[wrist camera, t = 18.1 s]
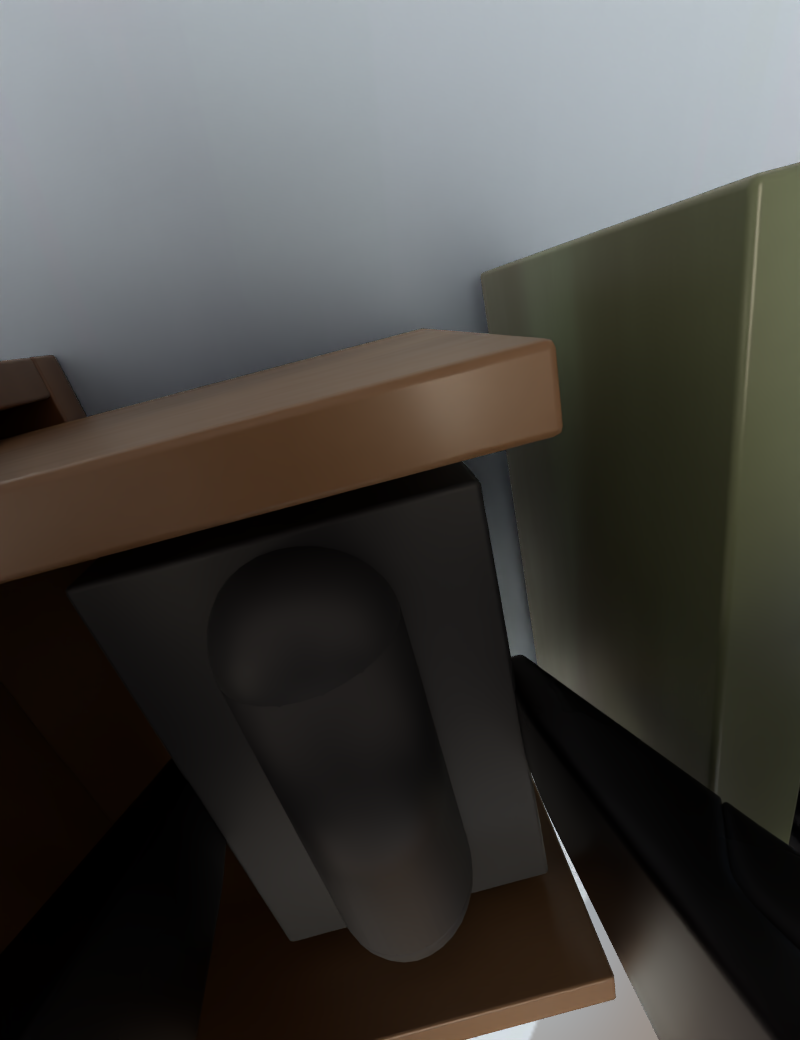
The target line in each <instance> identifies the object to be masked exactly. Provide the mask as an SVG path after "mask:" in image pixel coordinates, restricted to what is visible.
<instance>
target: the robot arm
mask: <svg viewBox="0 0 800 1040" xmlns="http://www.w3.org/2000/svg"><path fill="white" fill-rule="evenodd" d="M511 660H512V666H513V672H514V677H515V683H516V690H515V698H516V703H517V709H518V715H519V720H520V726H521V731H522V737H523V742H524V748H525V754H526V759H527V762H528V765H529V767H530V770H531V773H532V776H533V778H534V781H535V784H536V786H537V789H538V791H539V794H540V796H541V799H542V801H543V803H544V806H545V808H546V810H547V812H548V814H549V816H550V818H551V820H552V823H553V825H554V827H555V829H556V831H557V833H558V835H559V837H560V839H561V841H562V843H563V845H564V847H565V849H566V851H567V853H568V855H569V857H570V859H571V861H572V863H573V865H574V867H575V870H576V872H577V874H578V876H579V878H580V880H581V882H582V884H583V886H584V888H585V890H586V892H587V894H588V896H589V898H590V900H591V902H592V904H593V906H594V908H595V910H596V912H597V914H598V916H599V919H600V921H601V923H602V925H603V927H604V929H605V931H606V933H607V935H608V937H609V939H610V941H611V943H612V945H613V947H614V949H615V951H616V953H617V955H618V957H619V959H620V961H621V963H622V965H623V967H624V970H625V972H626V973H627V976H628V978H629V980H630V982H631V984H632V986H633V988H634V990H635V992H636V994H637V996H638V998H639V1000H640V1002H641V1004H642V1006H643V1008H644V1010H645V1012H646V1015H647V1017H648V1018H649V1020H650V1023H651V1025H652V1027H653V1029H654V1031H655V1033H656V1035H657V1037H658V1039H659V1040H800V787H799V792H798V798H797V803H796V808H795V813H794V819H793V824H792V829H791V834H790V840H789V845H788V844H786V843H785V842H783V841H782V840H781V839H779V838H778V837H776V836H775V835H773V834H772V833H770V832H769V831H768V830H766V829H765V828H763V827H762V826H760V825H759V824H757V823H756V822H755V821H753V820H752V819H750V818H749V817H748V816H746V815H745V814H744V813H742V812H741V811H739V810H738V809H737V808H735V807H734V806H733V805H731V804H730V803H728V802H723V804H722V799H721V798H720V796H718V795H717V794H716V793H714V792H713V791H711V790H710V789H709V788H707V787H706V786H704V785H703V784H702V783H700V782H699V781H697V780H696V779H695V778H693V777H692V776H691V775H689V774H688V773H686V772H685V771H684V770H682V769H681V768H679V767H678V766H677V765H675V764H674V763H672V762H671V761H670V760H668V759H667V758H666V757H664V756H663V755H661V754H660V753H659V752H657V751H656V750H654V749H653V748H652V747H650V746H649V745H647V744H646V743H645V742H643V741H642V740H640V739H639V738H638V737H636V736H635V735H634V734H632V733H631V732H629V731H628V730H627V729H625V728H624V727H622V726H621V725H620V724H618V723H617V722H615V721H614V720H613V719H611V718H610V717H609V716H607V715H606V714H604V713H603V712H602V711H600V710H599V709H597V708H596V707H595V706H593V705H592V704H590V703H589V702H588V701H586V700H585V699H584V698H582V697H581V696H579V695H578V694H577V693H575V692H574V691H572V690H571V689H570V688H568V687H567V686H565V685H564V684H563V683H561V682H560V681H559V680H557V679H556V678H554V677H553V676H552V675H550V674H549V673H547V672H546V671H545V670H543V669H542V668H540V667H539V666H538V665H536V664H535V663H534V662H532V661H531V660H529V659H528V658H527V657H525V656H523V655H516V656H512V657H511ZM225 854H226V839H225V838H224V836H223V835H222V833H221V832H220V830H219V829H218V827H217V825H216V824H215V822H214V821H213V819H212V818H211V816H210V815H209V813H208V812H207V810H206V808H205V807H204V805H203V804H202V802H201V801H200V799H199V798H198V796H197V795H196V793H195V791H194V790H193V788H192V787H191V785H190V784H189V782H188V781H187V780H186V779H185V778H184V776H183V775H182V773H181V772H180V770H179V769H178V767H177V766H176V764H175V763H174V761H173V759H172V758H171V759H170V760H169V761H168V762H167V764H166V765H165V766H164V767H163V768H162V769H161V770H160V772H159V773H158V774H157V775H156V776H155V777H154V778H153V780H152V781H151V782H150V783H149V784H148V785H147V786H146V788H145V789H144V790H143V791H142V792H141V793H140V795H139V796H138V797H137V798H136V799H135V800H134V801H133V803H132V804H131V805H130V806H129V807H128V808H127V809H126V811H125V812H124V813H123V814H122V815H121V816H120V817H119V819H118V820H117V821H116V822H115V823H114V824H113V825H112V827H111V828H110V829H109V830H108V831H107V832H106V833H105V835H104V836H103V837H102V838H101V839H100V840H99V842H98V843H97V844H96V845H95V846H94V847H93V848H92V850H91V851H90V852H89V853H88V854H87V855H86V856H85V858H84V859H83V860H82V861H81V862H80V863H79V864H78V866H77V867H76V868H75V869H74V870H73V871H72V872H71V874H70V875H69V876H68V877H67V878H66V879H65V880H64V882H63V883H62V884H61V885H60V886H59V887H58V889H57V890H56V891H55V892H54V893H53V894H52V895H51V897H50V898H49V899H48V900H47V901H46V902H45V903H44V905H43V906H42V907H41V908H40V909H39V910H38V911H37V913H36V914H35V915H34V916H33V917H32V918H31V919H30V921H29V922H28V923H27V924H26V925H25V926H24V927H23V929H22V930H21V931H20V932H19V933H18V934H17V936H16V937H15V938H14V939H13V940H12V941H11V942H10V944H9V945H8V946H7V947H6V948H5V949H4V950H3V952H2V953H1V954H0V1040H196V1039H197V1033H198V1027H199V1021H200V1016H201V1010H202V1004H203V998H204V993H205V987H206V981H207V975H208V969H209V964H210V958H211V952H212V946H213V940H214V935H215V929H216V923H217V917H218V911H219V906H220V899H221V893H222V886H223V877H224V867H225Z"/></svg>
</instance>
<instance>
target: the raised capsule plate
mask: <svg viewBox="0 0 800 1040" xmlns="http://www.w3.org/2000/svg"><path fill="white" fill-rule="evenodd" d="M65 592H66V596H67V597H68V599H69V600H70V602H71V603H72V605H73V607H74V608H75V610H76V611H77V613H78V614H79V616H80V617H81V619H82V620H83V622H84V624H85V625H86V627H87V628H88V630H89V631H90V633H91V634H92V636H93V637H94V639H95V641H96V642H97V644H98V645H99V647H100V648H101V650H102V651H103V653H104V654H105V656H106V658H107V659H108V661H109V662H110V664H111V665H112V667H113V668H114V670H115V671H116V673H117V675H118V676H119V678H120V679H121V681H122V682H123V684H124V685H125V687H126V688H127V690H128V692H129V693H130V695H131V696H132V698H133V699H134V701H135V702H136V704H137V705H138V707H139V709H140V710H141V712H142V713H143V715H144V716H145V718H146V719H147V721H148V722H149V724H150V726H151V727H152V729H153V730H154V732H155V733H156V735H157V736H158V738H159V739H160V741H161V743H162V744H163V746H164V747H165V749H166V750H167V752H168V753H169V755H170V756H171V758H172V759H173V761H174V763H175V764H176V766H177V767H178V769H179V770H180V772H181V773H182V775H183V776H184V778H185V779H186V780H187V781H188V782H189V784H190V785H191V787H192V788H193V790H194V791H195V793H196V795H197V796H198V798H199V799H200V801H201V802H202V804H203V805H204V807H205V808H206V810H207V812H208V813H209V815H210V816H211V818H212V819H213V821H214V822H215V824H216V825H217V827H218V829H219V830H220V832H221V833H222V835H223V836H224V838H225V839H226V843H227V844H228V846H229V848H230V849H231V851H232V852H233V854H234V855H235V857H236V858H237V860H238V861H239V863H240V865H241V866H242V868H243V869H244V871H245V872H246V874H247V875H248V877H249V878H250V880H251V882H252V883H253V885H254V886H255V888H256V889H257V891H258V892H259V894H260V895H261V897H262V899H263V900H264V902H265V903H266V905H267V906H268V908H269V909H270V911H271V912H272V914H273V916H274V917H275V919H276V920H277V922H278V923H279V925H280V926H281V928H282V929H283V931H284V933H285V934H286V936H287V937H288V939H289V940H290V941H293V942H294V941H298V940H301V939H305V938H309V937H313V936H316V935H320V934H324V933H327V932H331V931H335V930H338V929H342V928H346V927H347V928H348V929H349V931H350V932H351V933H352V934H353V936H354V937H355V938H356V939H357V940H358V941H359V943H360V944H361V945H362V946H363V947H365V948H366V949H367V950H369V951H370V952H371V953H373V954H375V955H377V956H379V957H382V958H384V959H387V960H390V961H396V962H411V961H418V960H421V959H423V958H426V957H428V956H430V955H432V954H434V953H435V952H436V951H438V950H439V949H441V948H442V947H443V946H444V945H445V944H446V943H447V942H448V941H449V940H450V939H451V938H452V937H453V936H454V934H455V933H456V931H457V929H458V928H459V926H460V925H461V923H462V921H463V918H464V916H465V913H466V911H467V908H468V905H469V900H470V896H471V893H475V892H479V891H482V890H486V889H490V888H493V887H497V886H501V885H505V884H508V883H512V882H516V881H519V880H523V879H527V878H530V877H534V876H538V875H541V874H545V873H546V872H547V871H548V865H547V860H546V854H545V848H544V842H543V837H542V831H541V825H540V820H539V814H538V808H537V803H536V797H535V791H534V786H533V780H532V774H531V770H530V767H529V765H528V762H527V759H526V754H525V748H524V742H523V737H522V731H521V726H520V720H519V715H518V709H517V703H516V698H515V690H516V683H515V677H514V672H513V666H512V660H511V654H510V649H509V643H508V637H507V632H506V626H505V620H504V615H503V609H502V603H501V597H500V592H499V586H498V580H497V575H496V569H495V563H494V558H493V552H492V546H491V541H490V535H489V529H488V523H487V518H486V512H485V506H484V501H483V495H482V489H481V484H480V482H479V480H478V479H477V478H476V477H475V476H474V474H473V473H472V472H471V471H470V470H469V468H468V467H467V466H466V465H465V464H464V463H463V461H461V462H457V463H454V464H450V465H446V466H442V467H439V468H435V469H431V470H427V471H423V472H420V473H416V474H412V475H408V476H405V477H401V478H397V479H393V480H390V481H386V482H382V483H378V484H374V485H371V486H367V487H363V488H359V489H356V490H352V491H348V492H344V493H341V494H337V495H333V496H329V497H325V498H322V499H318V500H314V501H310V502H307V503H303V504H299V505H295V506H292V507H288V508H284V509H280V510H277V511H273V512H269V513H265V514H261V515H258V516H254V517H250V518H246V519H243V520H239V521H235V522H231V523H228V524H224V525H220V526H216V527H212V528H209V529H205V530H201V531H197V532H194V533H190V534H186V535H182V536H179V537H175V538H171V539H167V540H164V541H160V542H156V543H152V544H148V545H145V546H141V547H137V548H133V549H130V550H126V551H122V552H118V553H115V554H111V555H107V556H103V557H99V558H98V559H97V560H95V561H94V562H93V563H92V564H91V565H90V566H89V567H88V568H87V569H86V570H85V571H84V572H83V573H82V574H81V575H80V576H79V577H78V578H77V579H76V580H74V581H73V582H72V583H71V584H70V585H69V586H68V587H67V588H66V591H65Z"/></svg>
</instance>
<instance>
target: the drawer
mask: <svg viewBox="0 0 800 1040" xmlns="http://www.w3.org/2000/svg"><path fill="white" fill-rule="evenodd" d="M481 284H482V291H483V298H484V305H485V312H486V318H487V325H488V332H489V334H486V333H474V332H461V331H449V330H437V329H424V328H421V329H418V330H414V331H410V332H406V333H402V334H399V335H395V336H391V337H387V338H383V339H380V340H376V341H372V342H368V343H365V344H361V345H357V346H353V347H349V348H346V349H342V350H338V351H334V352H330V353H327V354H323V355H319V356H315V357H312V358H308V359H304V360H300V361H296V362H293V363H289V364H285V365H281V366H277V367H274V368H270V369H266V370H262V371H259V372H255V373H251V374H247V375H243V376H240V377H236V378H232V379H228V380H224V381H221V382H217V383H213V384H209V385H205V386H202V387H198V388H194V389H190V390H187V391H183V392H179V393H175V394H171V395H168V396H164V397H160V398H156V399H152V400H149V401H145V402H141V403H137V404H134V405H130V406H126V407H122V408H118V409H115V410H111V411H107V412H103V413H99V414H96V415H92V416H88V417H84V418H81V419H77V420H73V421H69V422H65V423H62V424H58V425H54V426H50V427H46V428H43V429H39V430H35V431H31V432H28V433H24V434H20V435H16V436H12V437H9V438H5V439H1V440H0V954H1V953H2V952H3V950H4V949H5V948H6V947H7V946H8V945H9V944H10V942H11V941H12V940H13V939H14V938H15V937H16V936H17V934H18V933H19V932H20V931H21V930H22V929H23V927H24V926H25V925H26V924H27V923H28V922H29V921H30V919H31V918H32V917H33V916H34V915H35V914H36V913H37V911H38V910H39V909H40V908H41V907H42V906H43V905H44V903H45V902H46V901H47V900H48V899H49V898H50V897H51V895H52V894H53V893H54V892H55V891H56V890H57V889H58V887H59V886H60V885H61V884H62V883H63V882H64V880H65V879H66V878H67V877H68V876H69V875H70V874H71V872H72V871H73V870H74V869H75V868H76V867H77V866H78V864H79V863H80V862H81V861H82V860H83V859H84V858H85V856H86V855H87V854H88V853H89V852H90V851H91V850H92V848H93V847H94V846H95V845H96V844H97V843H98V842H99V840H100V839H101V838H102V837H103V836H104V835H105V833H106V832H107V831H108V830H109V829H110V828H111V827H112V825H113V824H114V823H115V822H116V821H117V820H118V819H119V817H120V816H121V815H122V814H123V813H124V812H125V811H126V809H127V808H128V807H129V806H130V805H131V804H132V803H133V801H134V800H135V799H136V798H137V797H138V796H139V795H140V793H141V792H142V791H143V790H144V789H145V788H146V786H147V785H148V784H149V783H150V782H151V781H152V780H153V778H154V777H155V776H156V775H157V774H158V773H159V772H160V770H161V769H162V768H163V767H164V766H165V765H166V764H167V762H168V761H169V760H170V759H171V756H170V755H169V753H168V752H167V750H166V749H165V747H164V746H163V744H162V743H161V741H160V739H159V738H158V736H157V735H156V733H155V732H154V730H153V729H152V727H151V726H150V724H149V722H148V721H147V719H146V718H145V716H144V715H143V713H142V712H141V710H140V709H139V707H138V705H137V704H136V702H135V701H134V699H133V698H132V696H131V695H130V693H129V692H128V690H127V688H126V687H125V685H124V684H123V682H122V681H121V679H120V678H119V676H118V675H117V673H116V671H115V670H114V668H113V667H112V665H111V664H110V662H109V661H108V659H107V658H106V656H105V654H104V653H103V651H102V650H101V648H100V647H99V645H98V644H97V642H96V641H95V639H94V637H93V636H92V634H91V633H90V631H89V630H88V628H87V627H86V625H85V624H84V622H83V620H82V619H81V617H80V616H79V614H78V613H77V611H76V610H75V608H74V607H73V605H72V603H71V602H70V600H69V599H68V597H67V596H66V592H65V591H66V588H67V587H68V586H69V585H70V584H71V583H72V582H73V581H74V580H76V579H77V578H78V577H79V576H80V575H81V574H82V573H83V572H84V571H85V570H86V569H87V568H88V567H89V566H90V565H91V564H92V563H93V562H94V561H95V560H97V559H98V558H99V557H103V556H107V555H111V554H115V553H118V552H122V551H126V550H130V549H133V548H137V547H141V546H145V545H148V544H152V543H156V542H160V541H164V540H167V539H171V538H175V537H179V536H182V535H186V534H190V533H194V532H197V531H201V530H205V529H209V528H212V527H216V526H220V525H224V524H228V523H231V522H235V521H239V520H243V519H246V518H250V517H254V516H258V515H261V514H265V513H269V512H273V511H277V510H280V509H284V508H288V507H292V506H295V505H299V504H303V503H307V502H310V501H314V500H318V499H322V498H325V497H329V496H333V495H337V494H341V493H344V492H348V491H352V490H356V489H359V488H363V487H367V486H371V485H374V484H378V483H382V482H386V481H390V480H393V479H397V478H401V477H405V476H408V475H412V474H416V473H420V472H423V471H427V470H431V469H435V468H439V467H442V466H446V465H450V464H454V463H457V462H461V461H465V460H469V459H472V458H476V457H480V456H484V455H487V454H491V453H495V452H499V451H503V450H506V455H507V461H508V468H509V475H510V482H511V489H512V495H513V502H514V509H515V516H516V523H517V529H518V536H519V543H520V550H521V557H522V564H523V570H524V577H525V584H526V591H527V598H528V604H529V611H530V618H531V625H532V632H533V638H534V645H535V652H536V659H537V665H538V666H539V667H540V668H542V669H543V670H545V671H546V672H547V673H549V674H550V675H552V676H553V677H554V678H556V679H557V680H559V681H560V682H561V683H563V684H564V685H565V686H567V687H568V688H570V689H571V690H572V691H574V692H575V693H577V694H578V695H579V696H581V697H582V698H584V699H585V700H586V701H588V702H589V703H590V704H592V705H593V706H595V707H596V708H597V709H599V710H600V711H602V712H603V713H604V714H606V715H607V716H609V717H610V718H611V719H613V720H614V721H615V722H617V723H618V724H620V725H621V726H622V727H624V728H625V729H627V730H628V731H629V732H631V733H632V734H634V735H635V736H636V737H638V738H639V739H640V740H642V741H643V742H645V743H646V744H647V745H649V746H650V747H652V748H653V749H654V750H656V751H657V752H659V753H660V754H661V755H663V756H664V757H666V758H667V759H668V760H670V761H671V762H672V763H674V764H675V765H677V766H678V767H679V768H681V769H682V770H684V771H685V772H686V773H688V774H689V775H691V776H692V777H693V778H695V779H696V780H697V781H699V782H700V783H702V784H703V785H704V786H706V787H707V788H709V789H710V790H711V791H713V792H714V793H716V794H717V795H718V796H720V798H721V799H722V804H723V802H728V803H730V804H731V805H733V806H734V807H735V808H737V809H738V810H739V811H741V812H742V813H744V814H745V815H746V816H748V817H749V818H750V819H752V820H753V821H755V822H756V823H757V824H759V825H760V826H762V827H763V828H765V829H766V830H768V831H769V832H770V833H772V834H773V835H775V836H776V837H778V838H779V839H781V840H782V841H783V842H785V843H786V844H788V845H789V840H790V834H791V829H792V824H793V819H794V813H795V808H796V803H797V798H798V792H799V787H800V162H799V163H795V164H791V165H788V166H784V167H780V168H776V169H773V170H769V171H765V172H761V173H757V174H754V175H752V176H749V177H746V178H743V179H741V180H738V181H735V182H732V183H729V184H727V185H724V186H721V187H718V188H716V189H713V190H710V191H707V192H705V193H702V194H699V195H696V196H693V197H691V198H688V199H685V200H682V201H680V202H677V203H674V204H671V205H668V206H666V207H663V208H660V209H657V210H655V211H652V212H649V213H646V214H644V215H641V216H638V217H635V218H632V219H630V220H627V221H624V222H621V223H619V224H616V225H613V226H610V227H607V228H605V229H602V230H599V231H596V232H594V233H591V234H588V235H585V236H583V237H580V238H577V239H574V240H571V241H569V242H566V243H563V244H560V245H558V246H555V247H552V248H549V249H546V250H544V251H541V252H538V253H535V254H533V255H530V256H527V257H524V258H522V259H519V260H516V261H513V262H510V263H508V264H505V265H502V266H499V267H497V268H494V269H491V270H488V271H485V272H483V273H482V274H481ZM532 780H533V777H532ZM533 786H534V791H535V797H536V803H537V808H538V814H539V820H540V825H541V831H542V837H543V842H544V848H545V854H546V860H547V865H548V871H547V872H546V873H545V874H541V875H538V876H534V877H530V878H527V879H523V880H519V881H516V882H512V883H508V884H505V885H501V886H497V887H493V888H490V889H486V890H482V891H479V892H475V893H471V896H470V900H469V905H468V908H467V911H466V913H465V916H464V918H463V921H462V923H461V925H460V926H459V928H458V929H457V931H456V933H455V934H454V936H453V937H452V938H451V939H450V940H449V941H448V942H447V943H446V944H445V945H444V946H443V947H442V948H441V949H439V950H438V951H436V952H435V953H434V954H432V955H430V956H428V957H426V958H423V959H421V960H418V961H411V962H396V961H390V960H387V959H384V958H382V957H379V956H377V955H375V954H373V953H371V952H370V951H369V950H367V949H366V948H365V947H363V946H362V945H361V944H360V943H359V941H358V940H357V939H356V938H355V937H354V936H353V934H352V933H351V932H350V931H349V929H348V928H347V927H346V928H342V929H338V930H335V931H331V932H327V933H324V934H320V935H316V936H313V937H309V938H305V939H301V940H298V941H294V942H293V941H290V940H289V939H288V937H287V936H286V934H285V933H284V931H283V929H282V928H281V926H280V925H279V923H278V922H277V920H276V919H275V917H274V916H273V914H272V912H271V911H270V909H269V908H268V906H267V905H266V903H265V902H264V900H263V899H262V897H261V895H260V894H259V892H258V891H257V889H256V888H255V886H254V885H253V883H252V882H251V880H250V878H249V877H248V875H247V874H246V872H245V871H244V869H243V868H242V866H241V865H240V863H239V861H238V860H237V858H236V857H235V855H234V854H233V852H232V851H231V849H230V848H229V846H228V844H227V843H226V854H225V867H224V877H223V886H222V893H221V899H220V906H219V911H218V917H217V923H216V929H215V935H214V940H213V946H212V952H211V958H210V964H209V969H208V975H207V981H206V987H205V993H204V998H203V1004H202V1010H201V1016H200V1021H199V1027H198V1033H197V1039H196V1040H466V1039H470V1038H473V1037H477V1036H481V1035H484V1034H488V1033H492V1032H495V1031H499V1030H503V1029H506V1028H510V1027H514V1026H518V1025H521V1024H525V1023H529V1022H532V1021H536V1020H540V1019H543V1018H547V1017H551V1016H554V1015H558V1014H562V1013H565V1012H569V1011H573V1010H576V1009H580V1008H584V1007H588V1006H591V1005H595V1004H599V1003H602V1002H606V1001H610V1000H614V999H615V998H616V995H615V983H614V975H613V972H612V970H611V967H610V965H609V962H608V960H607V957H606V955H605V953H604V950H603V948H602V945H601V943H600V941H599V938H598V936H597V933H596V931H595V928H594V926H593V924H592V921H591V919H590V916H589V914H588V911H587V909H586V906H585V904H584V902H583V899H582V897H581V894H580V892H579V889H578V887H577V884H576V882H575V880H574V877H573V875H572V872H571V870H570V867H569V865H568V863H567V860H566V858H565V855H564V853H563V850H562V848H561V846H560V843H559V841H558V838H557V836H556V833H555V831H554V828H553V826H552V824H551V821H550V819H549V816H548V814H547V811H546V809H545V807H544V804H543V802H542V799H541V797H540V794H539V792H538V790H537V787H536V785H535V782H534V780H533Z"/></svg>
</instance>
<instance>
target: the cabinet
mask: <svg viewBox="0 0 800 1040" xmlns="http://www.w3.org/2000/svg"><path fill="white" fill-rule="evenodd" d="M84 417H87V416H86V414H85V413H84V411H83V409H82V407H81V405H80V403H79V401H78V399H77V397H76V395H75V393H74V392H73V390H72V388H71V386H70V384H69V382H68V380H67V378H66V376H65V374H64V373H63V371H62V369H61V367H60V365H59V363H58V361H57V359H56V357H55V356H53V355H46V356H37V357H30V358H21V359H12V360H3V361H0V440H1V439H5V438H9V437H12V436H16V435H20V434H24V433H28V432H31V431H35V430H39V429H43V428H46V427H50V426H54V425H58V424H62V423H65V422H69V421H73V420H77V419H81V418H84Z"/></svg>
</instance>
